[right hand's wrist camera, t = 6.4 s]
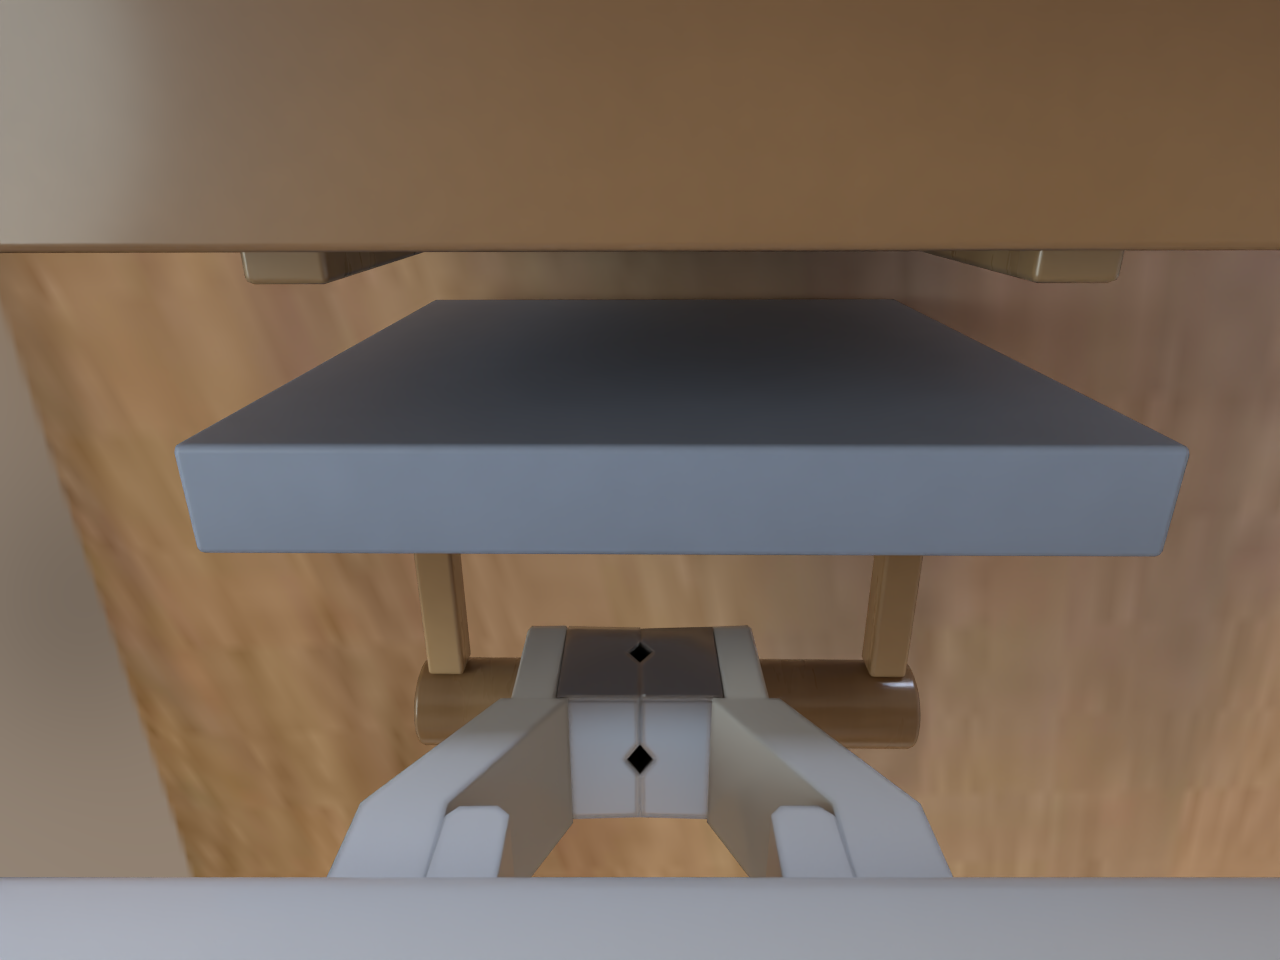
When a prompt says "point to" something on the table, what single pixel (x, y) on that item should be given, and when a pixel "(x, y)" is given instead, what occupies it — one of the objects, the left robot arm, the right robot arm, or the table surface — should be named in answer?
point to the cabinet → (638, 125)
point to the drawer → (681, 459)
